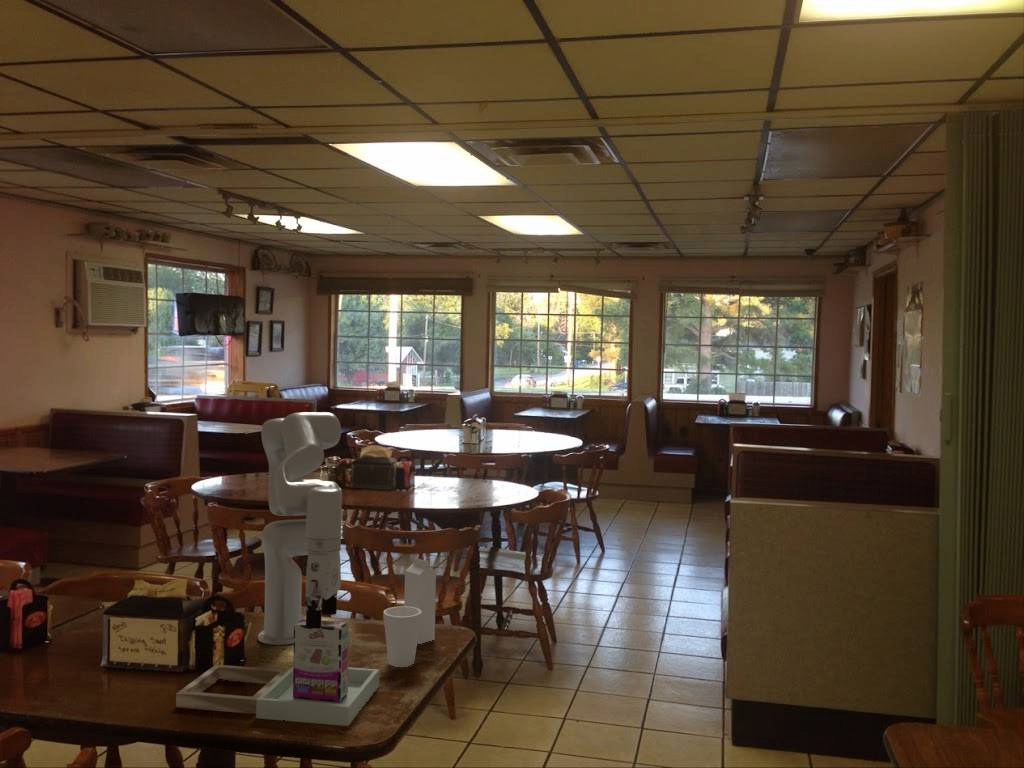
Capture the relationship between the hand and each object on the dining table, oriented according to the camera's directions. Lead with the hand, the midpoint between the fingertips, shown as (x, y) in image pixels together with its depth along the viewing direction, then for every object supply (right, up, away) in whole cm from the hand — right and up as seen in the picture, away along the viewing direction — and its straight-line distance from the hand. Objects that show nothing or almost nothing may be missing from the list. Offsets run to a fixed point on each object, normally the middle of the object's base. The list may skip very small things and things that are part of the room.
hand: (321, 620), depth 194 cm
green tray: (0, -18, 0) cm, 18 cm away
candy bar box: (0, -17, +1) cm, 17 cm away
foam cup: (+14, -18, +25) cm, 34 cm away
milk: (+17, -17, +43) cm, 49 cm away
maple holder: (-20, -17, +3) cm, 27 cm away
